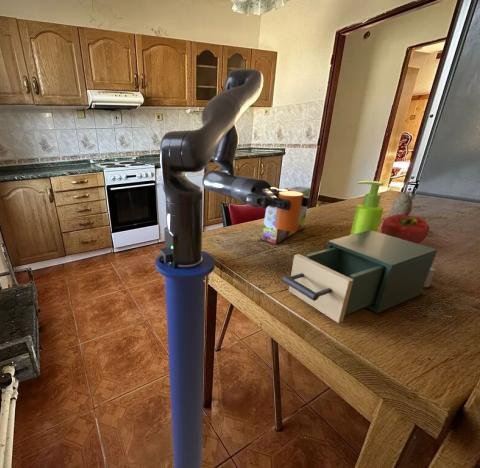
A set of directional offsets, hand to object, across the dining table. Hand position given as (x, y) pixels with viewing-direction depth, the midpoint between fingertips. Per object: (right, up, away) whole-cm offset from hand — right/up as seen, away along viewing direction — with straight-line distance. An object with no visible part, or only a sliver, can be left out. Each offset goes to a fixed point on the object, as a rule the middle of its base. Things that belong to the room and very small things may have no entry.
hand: (298, 204), depth 59 cm
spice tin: (-1, -5, +5) cm, 7 cm away
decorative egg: (+60, -1, +41) cm, 73 cm away
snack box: (+11, -7, +31) cm, 33 cm away
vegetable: (+40, -11, +19) cm, 45 cm away
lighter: (+28, -18, +2) cm, 33 cm away
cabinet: (+15, -19, -1) cm, 24 cm away
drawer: (+3, -20, -6) cm, 21 cm away
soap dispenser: (+26, -12, +18) cm, 34 cm away
